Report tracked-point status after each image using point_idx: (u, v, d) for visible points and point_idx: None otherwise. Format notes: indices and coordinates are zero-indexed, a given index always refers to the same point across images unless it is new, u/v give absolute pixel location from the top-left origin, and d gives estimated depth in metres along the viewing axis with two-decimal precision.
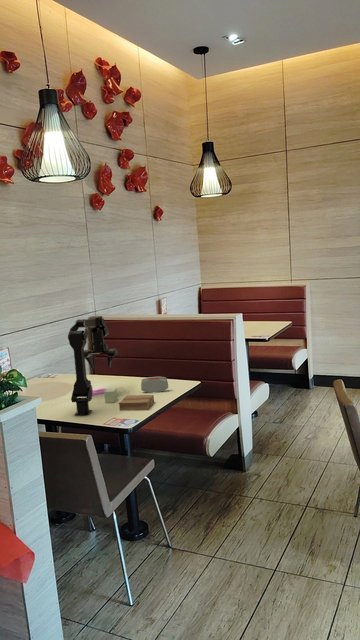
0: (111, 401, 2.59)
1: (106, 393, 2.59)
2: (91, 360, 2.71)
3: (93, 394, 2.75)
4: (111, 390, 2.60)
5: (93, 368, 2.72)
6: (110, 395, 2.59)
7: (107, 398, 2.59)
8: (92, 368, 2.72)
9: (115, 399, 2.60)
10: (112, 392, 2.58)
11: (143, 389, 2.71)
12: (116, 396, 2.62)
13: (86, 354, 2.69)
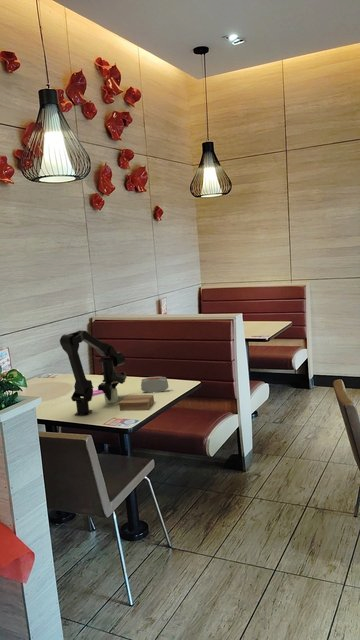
0: (111, 401, 2.59)
1: None
2: None
3: (93, 394, 2.75)
4: (111, 390, 2.60)
5: None
6: None
7: None
8: None
9: (115, 399, 2.60)
10: (112, 392, 2.58)
11: (143, 389, 2.71)
12: (116, 396, 2.62)
13: None
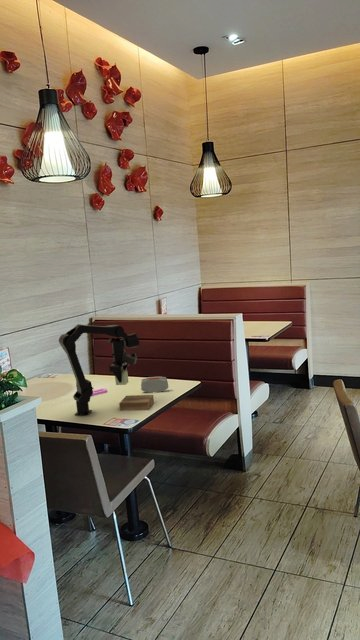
0: (122, 383, 2.52)
1: None
2: None
3: (93, 394, 2.75)
4: None
5: None
6: None
7: None
8: None
9: (126, 381, 2.53)
10: (123, 373, 2.52)
11: (143, 389, 2.71)
12: (127, 378, 2.55)
13: None
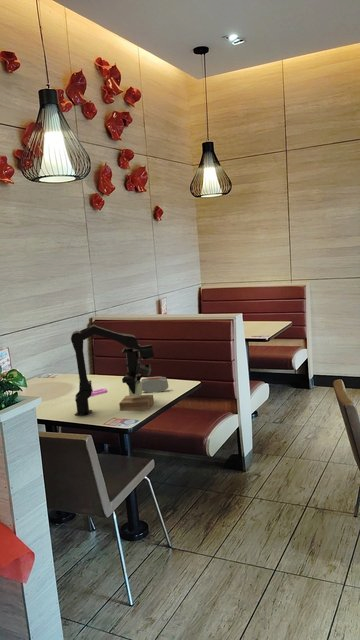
0: (135, 394, 2.47)
1: None
2: None
3: (93, 394, 2.75)
4: None
5: None
6: None
7: (131, 391, 2.47)
8: None
9: (140, 392, 2.48)
10: (137, 385, 2.46)
11: (143, 389, 2.71)
12: (140, 389, 2.50)
13: None
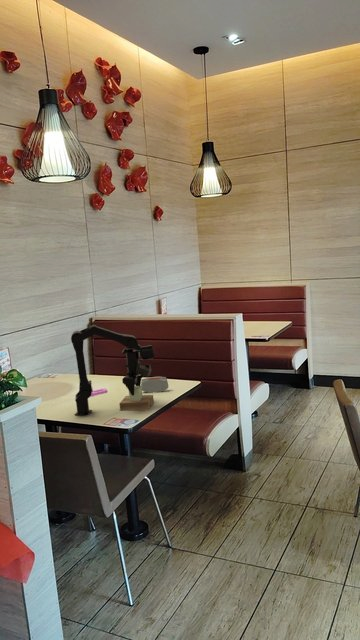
0: (136, 399, 2.47)
1: None
2: (137, 380, 2.54)
3: (93, 394, 2.75)
4: (136, 387, 2.48)
5: None
6: (135, 393, 2.47)
7: (131, 396, 2.47)
8: None
9: (140, 397, 2.48)
10: (137, 389, 2.46)
11: (143, 389, 2.71)
12: (141, 394, 2.50)
13: None
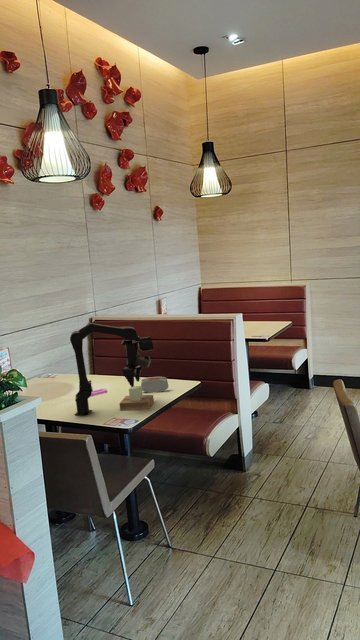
0: (136, 399, 2.47)
1: (131, 390, 2.47)
2: (136, 372, 2.53)
3: (92, 394, 2.75)
4: (136, 387, 2.48)
5: (138, 381, 2.53)
6: (135, 393, 2.47)
7: (132, 396, 2.47)
8: (136, 380, 2.54)
9: (140, 397, 2.48)
10: (137, 389, 2.46)
11: (143, 389, 2.71)
12: (141, 394, 2.50)
13: None
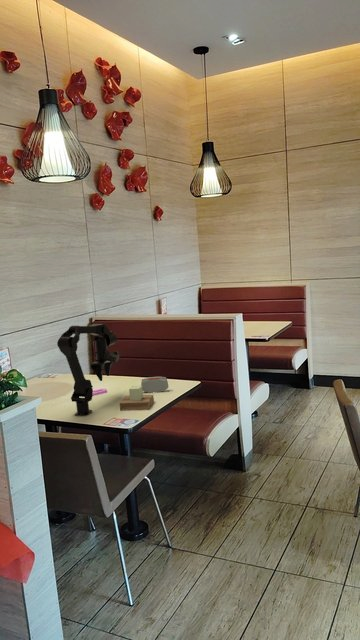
0: (136, 399, 2.47)
1: (131, 390, 2.47)
2: (106, 366, 2.65)
3: (92, 394, 2.75)
4: (136, 387, 2.48)
5: (107, 375, 2.66)
6: (135, 392, 2.47)
7: (132, 396, 2.48)
8: (106, 374, 2.66)
9: (140, 397, 2.48)
10: (137, 389, 2.46)
11: (143, 389, 2.71)
12: (141, 394, 2.50)
13: None
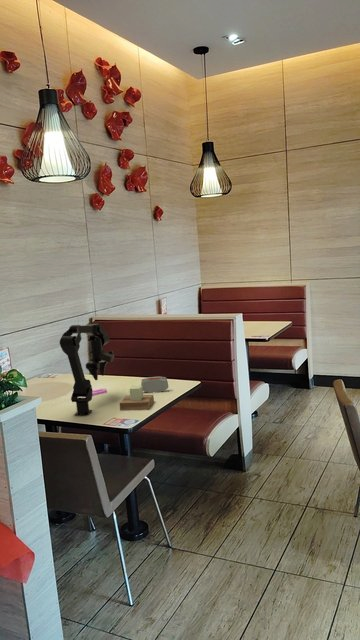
0: (137, 399, 2.48)
1: (131, 390, 2.47)
2: (101, 366, 2.67)
3: (92, 394, 2.74)
4: (136, 387, 2.49)
5: (102, 375, 2.68)
6: (136, 392, 2.47)
7: (132, 395, 2.48)
8: (101, 374, 2.68)
9: (141, 396, 2.48)
10: (138, 389, 2.47)
11: (143, 389, 2.71)
12: (142, 393, 2.50)
13: None
